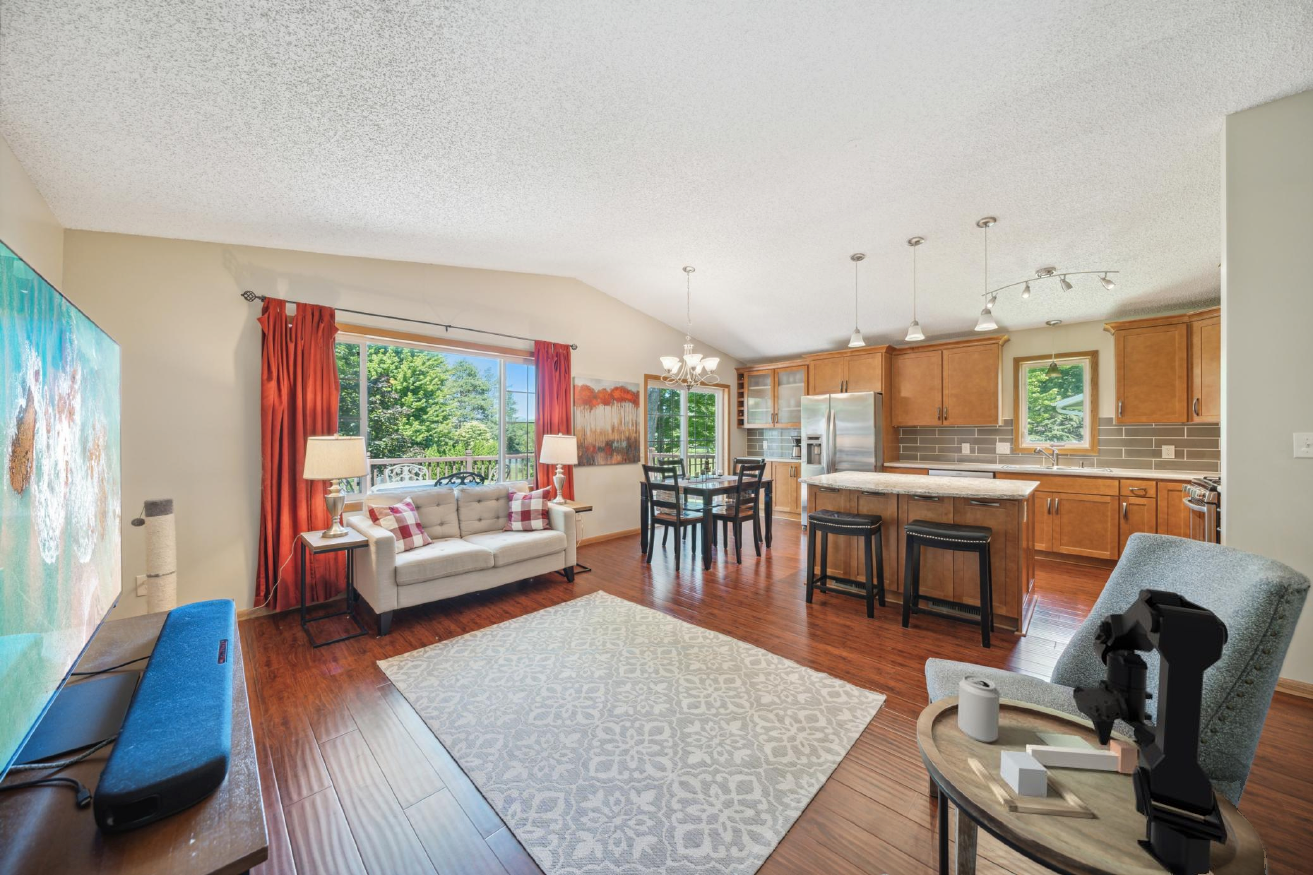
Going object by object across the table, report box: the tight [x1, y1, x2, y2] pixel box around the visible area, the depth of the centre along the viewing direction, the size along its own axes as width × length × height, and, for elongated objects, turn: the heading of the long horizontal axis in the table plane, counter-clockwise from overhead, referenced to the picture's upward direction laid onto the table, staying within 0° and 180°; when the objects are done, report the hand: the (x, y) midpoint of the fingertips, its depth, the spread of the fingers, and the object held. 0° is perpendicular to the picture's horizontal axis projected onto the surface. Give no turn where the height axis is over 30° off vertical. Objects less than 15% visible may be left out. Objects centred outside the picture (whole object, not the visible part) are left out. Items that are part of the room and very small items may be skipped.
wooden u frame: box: [967, 757, 1094, 819], centre depth 89 cm, size 12×14×1 cm
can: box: [957, 674, 1000, 743], centre depth 106 cm, size 8×8×12 cm
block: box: [1000, 749, 1048, 798], centre depth 90 cm, size 5×5×5 cm
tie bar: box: [1025, 739, 1138, 775], centre depth 96 cm, size 2×20×5 cm, turn 86°
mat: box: [1035, 732, 1097, 750], centre depth 102 cm, size 9×9×1 cm
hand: (1123, 759), depth 95 cm, fingers open, 9 cm apart
